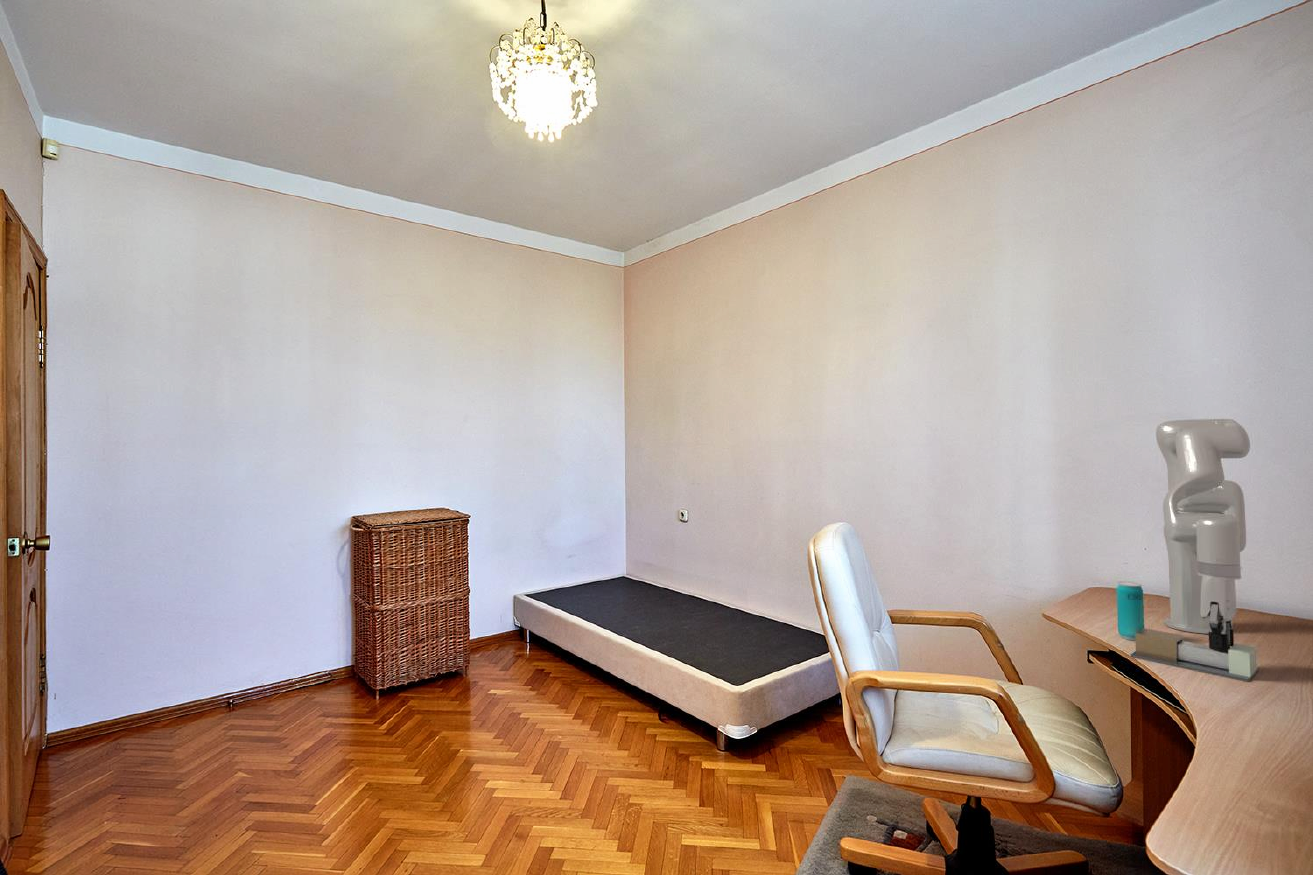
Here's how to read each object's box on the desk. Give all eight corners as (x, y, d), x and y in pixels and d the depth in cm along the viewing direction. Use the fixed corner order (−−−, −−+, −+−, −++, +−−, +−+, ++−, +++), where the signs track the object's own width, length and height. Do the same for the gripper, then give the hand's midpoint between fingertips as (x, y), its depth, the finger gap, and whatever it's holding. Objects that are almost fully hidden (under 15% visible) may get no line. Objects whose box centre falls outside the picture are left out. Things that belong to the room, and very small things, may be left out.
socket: (1236, 665, 144) (1235, 643, 144) (1256, 669, 141) (1255, 646, 141) (1229, 672, 140) (1228, 649, 140) (1250, 677, 137) (1249, 653, 137)
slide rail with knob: (1144, 647, 160) (1143, 625, 160) (1258, 670, 142) (1257, 646, 143) (1130, 656, 153) (1129, 634, 153) (1248, 681, 136) (1247, 656, 136)
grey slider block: (1170, 652, 153) (1169, 612, 153) (1247, 668, 141) (1245, 624, 142) (1165, 656, 150) (1164, 615, 150) (1243, 672, 139) (1242, 628, 139)
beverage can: (1149, 642, 164) (1147, 586, 164) (1125, 641, 165) (1123, 585, 165) (1137, 635, 169) (1135, 581, 170) (1113, 634, 171) (1112, 580, 171)
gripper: (1206, 563, 152) (1209, 636, 152) (1188, 572, 142) (1191, 651, 141) (1248, 567, 146) (1251, 643, 146) (1232, 577, 136) (1235, 659, 135)
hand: (1221, 646), depth 143 cm, fingers open, 5 cm apart
